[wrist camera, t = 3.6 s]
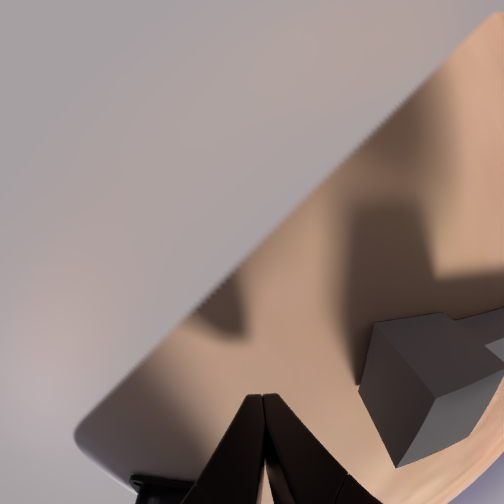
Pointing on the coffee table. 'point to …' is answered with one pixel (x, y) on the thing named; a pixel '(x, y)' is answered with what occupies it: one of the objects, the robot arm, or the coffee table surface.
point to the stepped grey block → (431, 380)
